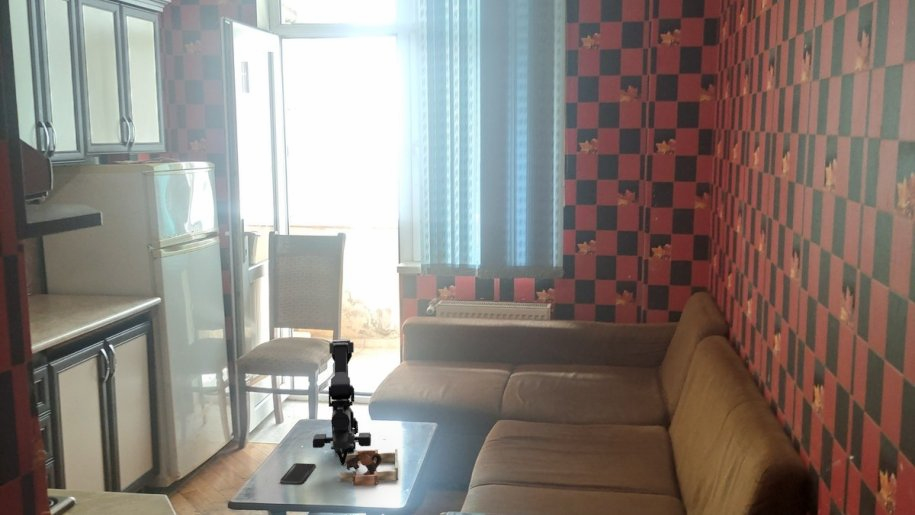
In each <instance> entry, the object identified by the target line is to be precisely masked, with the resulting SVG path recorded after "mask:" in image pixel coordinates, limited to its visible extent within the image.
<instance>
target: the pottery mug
mask: <svg viewBox="0 0 915 515" xmlns="http://www.w3.org/2000/svg"><path fill="white" fill-rule="evenodd" d="M378 453H379V452H378ZM378 453H374V454H372V455H366V453H365V452H363V453H361V454H359V455H357V456H356V457H355V458H351V459H350V460H348V461H347V462H345V463H346V468H345V469H346V470H347V471H350V470H351V469H354V470H355V471H358V470H359V468H360V465H359V463H358V461H360V462H361V463H360V464H361V465H362V466H365V468H366V469H367V470H366V471H365V472H363V473H362V475H374V471H377V468H378V467H380V465H381V463H382V462H381V460H382V459H381V456H380V454H378ZM375 457H376V458H377V461H376V462H374V461H373V460H374V458H375Z"/></svg>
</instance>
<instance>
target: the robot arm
mask: <svg viewBox="0 0 915 515" xmlns="http://www.w3.org/2000/svg"><path fill="white" fill-rule="evenodd" d="M328 346H329V347H328V348H329V354H331V359H332V360H333V361H334V375H332V377H331V378H330V385H328V407H330V408H331V409H332V412H331V419H330V420H331V421H330V422H331V436H330V437H327V434H326V433H316V434H315V435H313V438H312V448H314V449H321V448H322V449H323V447H325V445H326V444H330V446H331V447H330V449H331V450H332V451H333V450H334V453H335V454H336V455H337V456H338V459H339V462H340V465H341V466H343V467H344V466H345V464H344V463H345V460H346V456H347V454H354V453H355V450H356V448H357V445H356V443H358V446H360V447H370V446H371V444H372V434H371V433H370V432H359V421H357V419H356V417H354V416H355V415H354V414H355V413H354V411H353V409H352V408H351V407H353V403H354V402H355V387H354V386H353V384H351V378H350V377H349V363H350V360H351V359H352V357H353V353H354V351H355V345H354V341H351V338H342V339H338V338H337V339H332V342H330V343H329V345H328ZM357 434H358V435H357ZM356 435H357V436H356Z"/></svg>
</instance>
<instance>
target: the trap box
mask: <svg viewBox="0 0 915 515" xmlns="http://www.w3.org/2000/svg"><path fill="white" fill-rule="evenodd" d="M363 452H365V453H366V455H372V454H374V453H378V454H380V456H381V459H382V460H381V463H389V462H391V463H392V462H393V463H394V465H395V466H394V467H395V468H394V470H393V469H392V470H391V469H390V470H388V469H387V470H376V471H374V475H363V474H362V475H357V474H356V471H347V472H346V471H345V472H339V482H340V483H352V486H353V487H359V486H377V485H378V482H380V481H381V482H382V481H398V480H399V469H398V468H399V463H398V462H399V461H398V458H399V456H398V448H395V449H394V451H392V452H379V449H362V450H355V451H354V453H348V454H347V456H346V460H345V462H347V461H348V460H350V459H351V458H355V457H356V456H357V455H359V454H361V453H363ZM373 461H374V463H376V461H377V458H376V457H375V458H374V460H373ZM345 464H346V463H344V465H345ZM358 464H361V462H360V461H358ZM346 465H347V464H346Z"/></svg>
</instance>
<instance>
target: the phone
mask: <svg viewBox="0 0 915 515" xmlns="http://www.w3.org/2000/svg"><path fill="white" fill-rule="evenodd" d="M316 468H317V464H316V463H303V462H297V463H293V465H292V466H290V468H289V469H288V470H287V471H286V473H285V474H284V475H283V476H282V477H281V479H280V480H279V482H280V483H281V484H285V485H303V484H304V483H305V482H306V481H307V480H308V479H309V477H310V476H311V474H312V473H313V472H314V470H315V469H316Z"/></svg>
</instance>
